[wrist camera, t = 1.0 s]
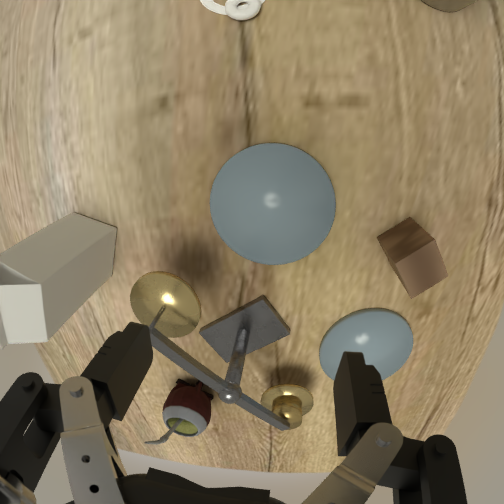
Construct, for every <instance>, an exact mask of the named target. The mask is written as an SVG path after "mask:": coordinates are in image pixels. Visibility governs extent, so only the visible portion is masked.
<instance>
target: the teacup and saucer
mask: <svg viewBox="0 0 504 504" xmlns="http://www.w3.org/2000/svg"><path fill="white" fill-rule="evenodd" d="M200 1H201V3H202V4H203V5H204V6H205V7H206V8H207V9H209V10H211V11H213V12H215V13H218V14H223V15H228V16H229V17H231V18H233V19H236V20H247V19H250V18H252V17H254V16H255V15H256V14H257V13H258V12H259V10H260V8H261V4H262V3H263V2H264V1H265V0H227V2H226V3H225V6H222V5H219V4H217V3H215V2H214V1H213V0H200ZM241 2H247V4H244V5H241V6H237V5H238V4H239V3H241Z"/></svg>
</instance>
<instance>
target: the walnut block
mask: <svg viewBox="0 0 504 504" xmlns="http://www.w3.org/2000/svg"><path fill="white" fill-rule="evenodd" d="M377 239H378V241H379V242H380V244H381V246H382V248H383V250H384V252H385V254H386V256H387V258H388V260H389V262H390V264H391V266H392V268H393V270H394V271H395V273H396V274H397V276H398V278H399V279H400V281H401V283H402V284H403V286H404V287H405V289H406V291H407V292H408V294H409V296H410V298H411V299H412V298H414V297H415V296H417V295H419V294H420V293H422V292H424V291H425V290H427V289H428V288H430V287H432V286H433V285H435V284H437V283H438V282H440V281H441V280H443V279H444V278H446V277H448V274H447V271H446V268H445V265H444V262H443V260H442V257H441V254H440V252H439V249H438V246H437V244H436V241H435V239H434V238H433V237H432V236H430V235H429V234H428V233H427V232H426V231H425V230H424V229H423V228H422V227H420V226H419V225H418V224H417V223H416V222H415V221H414V220H413V219H411V218H410V217H409V218H407V219H406V220H404V221H402V222H401V223H399V224H398V225H396V226H394V227H393V228H391V229H389V230H388V231H386V232H384V233H383V234H381V235H379V236H378V237H377Z"/></svg>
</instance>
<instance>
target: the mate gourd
mask: <svg viewBox="0 0 504 504" xmlns="http://www.w3.org/2000/svg"><path fill="white" fill-rule="evenodd" d="M176 383H177V385H176V386H175V387H174V388H173V389H172V390H171V392H170V394H169V395H168V397H167V400H166V401H165V403H164V406H163V412H162V414H163V420H164V423H165V425H166V426H167V427H168V429H170V430H169V431H168V432H167V433H166V434H165V435H163V436H162V437H161V438H160V440H156V441H147V442H145V444H161V443H164V442H166V441H167V440H168V437H169V436H170V435H171V434H172V432H174V433H176V434H178V435H182V436H185V437H193V436H197V435H199V434H200V433H202V432H203V431H204V430H205V429H206V427H207V426H208V424H209V422H210V418H211V400H212V399H213V395H211V394H209V393H207V392H204V391H202V390H201V387H202V385H203V384H204V383H203V382H201V381H200V380H198V382H197V383H196V384H195V385H194V386H193V385H190V384H188V383H186V382H184V381H183V380H181V379H178V380H177V382H176Z"/></svg>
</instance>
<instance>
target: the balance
mask: <svg viewBox="0 0 504 504" xmlns="http://www.w3.org/2000/svg"><path fill="white" fill-rule="evenodd" d="M130 302H131V306H132V309H133V312H134V314H135V315H136V317H137V318H138V320H139V321H140V322H141V323H142V324H144V325H147V326H148V327H149V331H150V338H151V344H152V346H153V347H154V348H155V349H157V350H158V351H159V352H161V353H162V354H163V355H165V356H166V357H167V358H169V359H170V360H171V361H173V362H174V363H176V364H177V365H178V366H180V367H181V368H183V369H184V370H185V371H187V372H188V373H190V374H191V375H193V376H194V377H195V378H197V379H198V380H200V381H201V382H203V383H204V384H206V385H207V386H209V387H210V388H212V389H213V390H215V391H216V392H218V395H219V397H220V399H221V400H222V401H223V402H225V403H228V404H232V403H235V404H237V405H238V406H240V407H242V408H243V409H245V410H247V411H248V412H250V413H252V414H253V415H255V416H257V417H258V418H260V419H262V420H264V421H265V422H267V423H269V424H271V425H273V426H274V427H276V428H278V429H280V430H282V431H283V430H289V429H294V428H297V427H298V426H300V425H301V423H302V416H303V415H305V414H307V413H308V412H309V411H310V410H311V409H312V407H313V396H312V394H311V392H310V391H309V390H307V389H306V388H304V387H302V386H299V385H295V384H280V385H276V386H273V387H271V388H269V389H267V390H266V391H265V392H264V393H263V395H262V398H261V405H260V404H259V403H257V402H256V401H254V400H253V399H251V398H250V397H248V396H247V395H245V394H244V393H242V390H241V387H240V381H241V376H242V371H243V366H244V361H245V356H246V354H248V353H251V352H253V351H255V350H257V349H259V348H262V347H264V346H266V345H268V344H270V343H272V342H275V341H277V340H279V339H281V338H283V337H285V336H287V335H289V334H290V329H289V327H288V326H287V325H286V323H285V322H284V321H283V320H282V318H281V317H280V316H279V314H278V313H277V312H276V311H275V309H274V308H273V307H272V305H271V304H270V303H269V301H268V300H267V299H266V298H265V296H264V295H263V296H261V297H259V298H257V299H255V300H253V301H252V302H250V303H248V304H246V305H244V306H242V307H240V308H238V309H237V310H235V311H233V312H231V313H229V314H227V315H225V316H223V317H221V318H220V319H218V320H216V321H214V322H212V323H210V324H208V325H206V326H204V327H202V328H201V329H200V331H199V333H200V335H201V336H202V337H203V338H204V339H205V340H206V341H207V342H208V343H209V344H210V345H211V347H212V348H213V349H214V350H215V351H216V352H217V353H218V354H219V355H220V356H221V357H222V358H223V359H224V360H225V361H226V362H227V363H228V362H230V363H229V366H228V370H227V374H226V378H225V380H223V379H222V378H220V377H219V376H217V375H216V374H215V373H213V372H212V371H210V370H209V369H208V368H206V367H205V366H204V365H202V364H201V363H200V362H198V361H197V360H196V359H194V358H193V357H192V356H190V355H189V354H188V353H186V352H185V351H184V350H182V349H181V348H180V347H178V346H177V345H176V344H175V343H173V342H172V341H171V340H170V339H168V338H167V337H171V338H176V337H182V336H185V335H187V334H189V333H191V332H192V331H193V330H194V329H195V328H196V326H197V324H198V322H199V319H200V316H201V305H200V301H199V298H198V296H197V294H196V293H195V291H194V290H193V289H192V287H191V286H190V285H189V284H188V283H187V282H185V281H184V280H183V279H181V278H180V277H178V276H176V275H173V274H171V273H167V272H161V271H156V272H150V273H147V274H145V275H143V276H142V277H141V278H139V279H138V281H137V282H136V283H135V284H134V286H133V287H132V290H131V294H130Z"/></svg>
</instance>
